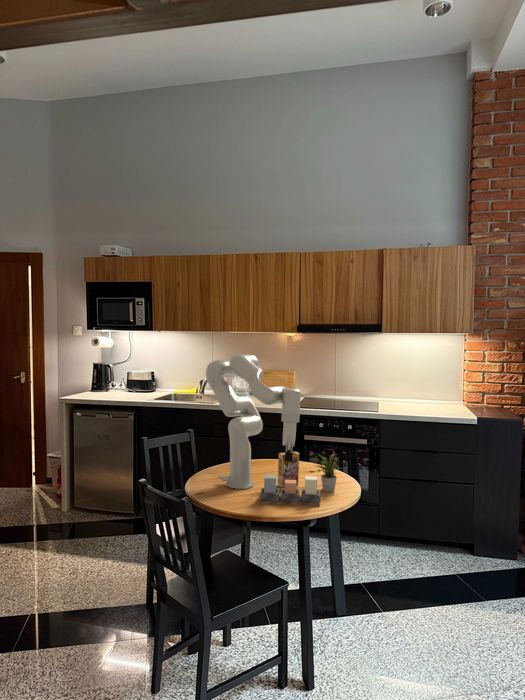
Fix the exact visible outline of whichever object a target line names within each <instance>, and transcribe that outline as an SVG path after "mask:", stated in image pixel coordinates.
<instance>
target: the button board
mask: <svg viewBox="0 0 525 700" xmlns="http://www.w3.org/2000/svg"><path fill="white" fill-rule="evenodd" d="M280 488H281V487H276V493H264V487H261V490H260V494H259V495H260V497H259V498H260V500H259V501H260V504H261V505H276V506H277V505H280V506H281V505H282V506H284V505H285V506H308V507H311V506H314V507H320V506H321V490H320V489H317V495H312V494H305V488H302V489H301V491H300V489H299V488H296V494H285V487H282V488H281V490H280ZM300 493H301V494H300Z"/></svg>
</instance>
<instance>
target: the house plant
mask: <svg viewBox="0 0 525 700" xmlns="http://www.w3.org/2000/svg"><path fill="white" fill-rule="evenodd" d="M317 455H318V456H319V457H321V460H319V459H318V458H317V459H316V458H313V459H314V460H316V461H317V462H319V464H317V465H316V464H314V465H313V466H314V467H316V468H317V469H316V472H317V473H320V472H323V474H321V475H320V480H321V485H322V486H321V487H322V490H323V491H324V492H329V493H331V491H332V492H334V491H335V489H336V483H337V478H338V476H337V475H336V474H337V472H336V471H337V470H339V469H340V470H341V469H342V470H343V467H340V468H336V467H337V465H338V464H339V462H338V459H339V458H337V456H335V453H333V454H331V455H330V457H329V459H327V458H326V457H325V456H322V455H320V454H318V453H317ZM334 457H335V458H334ZM335 468H336V469H335Z"/></svg>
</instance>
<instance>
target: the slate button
mask: <svg viewBox="0 0 525 700" xmlns="http://www.w3.org/2000/svg"><path fill="white" fill-rule="evenodd" d="M263 478H264V479H263V484H264V487H263V488H264V493H276V488H277V474H264V477H263Z"/></svg>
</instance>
